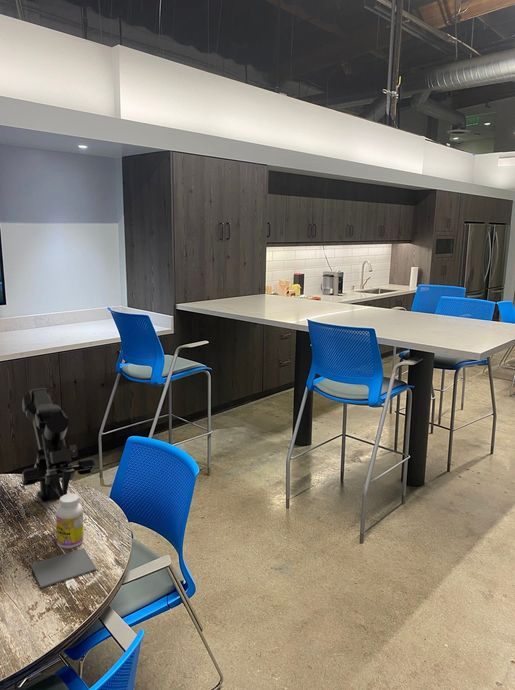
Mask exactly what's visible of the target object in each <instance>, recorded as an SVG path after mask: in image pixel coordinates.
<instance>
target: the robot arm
mask: <svg viewBox="0 0 515 690" xmlns="http://www.w3.org/2000/svg"><path fill="white" fill-rule="evenodd" d="M21 404H22V405H21V406H22V412H23V413H25V417H26V419H28V420H29V421H30V422H32V424H33V429H34V432H35V433H34V434H35V437H36V442H37V447H38V451H37V454H36V462H35V464H34V467H30V468H25V469H24V470H23V471H22V474H21V483H22V486H23V487H24V486H25V487H26V486H32V485H35V484H36V483H39V486H40V487H39V489H40V490H39V491H37V492H36V493H37V496H38V497H39V500H40V501H41V502H42V503H45V502H49V501H52V500H57V499H60V498H61V497H62V496H63V495H66V494H68V488H69V484H70V481H72V480H73V479H74V477H75V474H76V473H77V474H79V475H80V476H84V475H90V474H93V472H94V470H95V467H96V462H95V460H94V459H93V458H92V457H88V458H87V457H86V458H83V459H78V463H77V464H73V465H72V464H71V461H72V458H75V457H78V455H79V453H78V449H77V448H78V447H77V444H73V445H68V446H66V441H65V436H66V434H67V431H68V427H69V417H68V416H67V414H66V413H65V412H64V410H62V408H61V407H60V406H59V405H58V404H53V402H52V398H51V393H49V392H48V389H47V388H45V387H41V388H33V389H30V391H29V393H28V394H26V395H24V396H23V397H22V403H21ZM70 464H71V465H70Z"/></svg>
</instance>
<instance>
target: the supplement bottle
mask: <svg viewBox="0 0 515 690" xmlns="http://www.w3.org/2000/svg"><path fill="white" fill-rule="evenodd" d="M79 498H80V497H79V495H78V494H76V493H67V494H66V495H63V496H62V497H61V498H59V504H60V505H59V506H58V507H57V508H56V512H55V513H56V514H55V517H56V518H55V519H56V544H57V546H59V547H60V548H63V549H73V548H77V547H78V546H79V545H81V544H82V543H83V541H84V508H83V506H82V504H81V503H79V502H80V499H79Z"/></svg>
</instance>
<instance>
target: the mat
mask: <svg viewBox="0 0 515 690" xmlns="http://www.w3.org/2000/svg"><path fill="white" fill-rule="evenodd" d="M30 567H31V570H32V572H33V574H34V576H35V579H36V582H37V583H38V586H39V587H40V589H43V588H46V587H49V586H51V585H55V584H58V583H59V584H60V583H61V582H64V581H68V580H71V579H74V578H76V577H80V576H82V575H85V574H88V573H92V572H95V571H97V570H98V568H97V566H96V564H94V562H93V560H92V558H90V556H89V554H88V553H87V551H86V548H85V547H83V548H80V549H75V550H73V551H69V552H65V553H63V554H60V555H55V556H53V557H48V558H46V559H42V560H39V561H36V562H32V563H30Z"/></svg>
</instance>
